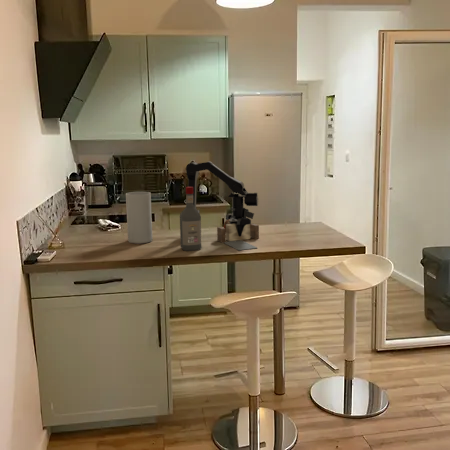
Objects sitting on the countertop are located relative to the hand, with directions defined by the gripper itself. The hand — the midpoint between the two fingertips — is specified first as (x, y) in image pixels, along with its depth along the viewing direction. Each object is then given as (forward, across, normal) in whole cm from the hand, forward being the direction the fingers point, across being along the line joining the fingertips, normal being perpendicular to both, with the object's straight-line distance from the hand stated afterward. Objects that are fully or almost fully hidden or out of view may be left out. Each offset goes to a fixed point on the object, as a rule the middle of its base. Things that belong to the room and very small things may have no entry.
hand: (238, 235), depth 273 cm
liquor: (+2, -8, +29) cm, 30 cm away
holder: (+2, 0, 0) cm, 2 cm away
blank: (+2, 0, 0) cm, 2 cm away
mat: (+2, -13, +5) cm, 14 cm away
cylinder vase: (+2, +19, +47) cm, 51 cm away
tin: (+2, +15, -4) cm, 16 cm away
